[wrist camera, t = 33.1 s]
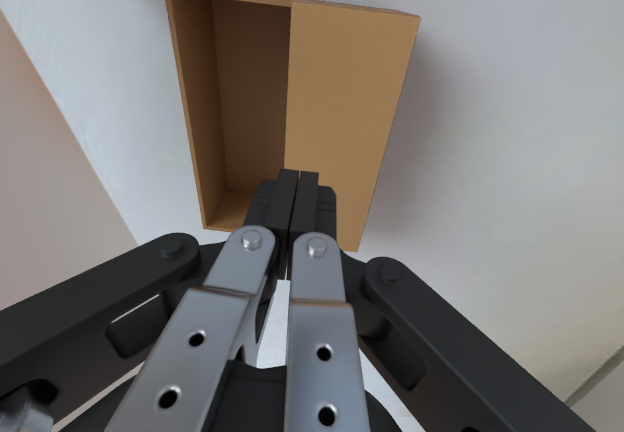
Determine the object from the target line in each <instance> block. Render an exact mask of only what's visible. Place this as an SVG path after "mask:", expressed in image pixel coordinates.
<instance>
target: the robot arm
mask: <svg viewBox="0 0 624 432" xmlns="http://www.w3.org/2000/svg"><path fill="white" fill-rule="evenodd" d="M318 180H319V173H318V172H310V171H301V172H300V178H299V170H292V169H284V168H281V169H280V172H279V176H278V179H277V180H269V179H266V180H264V181H263V182H262V183H261V184H259V185H258V187H257V189H256V192H255V195H254V197H253V199H252V203H251V205H250V207H249V210H248V212H247V215H246V217H245V220H244V222H243V225H242V227H240V228H238V229H236V230H234V231H233V232H232V233H231V234H230V236H229V237H228V239H227V241H224V242H220V243H215V244H206V245H199V243H198V241H197V240H196V238H195V237H193V236H191V235H189V234H186V233H170V234H166V235H163V236H161V237H158V238H156V239H154V240H152V241H150V242H148V243H145V244H143V245H141V246H139V247H137V248H135V249H133V250H130V251H128V252H126V253H124V254H122V255H120V256H118V257H115V258H113V259H111V260H109V261H107V262H105V263H103V264H100V265H98V266H96V267H94V268H92V269H89V270H87V271H85V272H83V273H81V274H79V275H76V276H74V277H72V278H70V279H68V280H66V281H64V282H61V283H59V284H57V285H55V286H53V287H51V288H49V289H46V290H44V291H42V292H40V293H38V294H36V295H33V296H31V297H29V298H27V299H25V300H23V301H21V302H18V303H16V304H14V305H12V306H10V307H7V308H5V309H3V310H1V311H0V432H51V429H52V426H53V425H55V424H56V423H57V422H59V421H60V420H62V419H63V418H65V417H66V416H67V415H69V414H70V413H72V412H73V411H74V410H76V409H77V408H79V407H80V406H81V405H83V404H84V403H86V402H87V401H89V400H90V399H91V398H93V397H94V396H96V395H97V394H98V393H100V392H101V391H103V390H104V389H105V388H107V387H108V386H110V385H111V384H112V383H114V382H115V381H117V380H118V379H120V378H121V377H122V376H124V375H125V374H126V373H128V372H129V371H130V370H132V369H134V368H135V367H136V366H138V365H139V364H141V363H142V362H143V361H145V362H144V364H143V366H142V367H141V369H140V371H139V372H138V374H137V375H135V376H133V377H132V378H130V379H128V380H127V381H125V382H123V383H122V384H121V385H119V386H118V387H116V388H115V389H114V390H113V391H111V392H110V393H109V394H107V395H106V396H105V397H103V398H102V399H101V400H99V401H98V402H97V403H95V404H94V405H93V406H91V407H90V408H89V409H87V410H86V411H85V412H83V413H82V414H81V415H80V416H78V417H77V418H76V419H74V420H73V421H72V422H70V423H69V424H68V425H66V426H65V427H64V428H62V429H61V430H60V431H58V432H402V431H401V429H400V428H399V426H398V425H397V424H396V422H395V420H394V419H393V418H392V416H391V415H390V414H389V412H388V411H387V410H386V409H385V408H384V406H383V405H382V404H381V403H380V402H379V401H378V400H377V399H376V398H375V397H374V396H372V395H371V394H370V393H369V392H367V391H366V390H365V389H364V383H363V375H362V368H361V361H360V354H359V348H360V350H361V351H362V352H363V353H364V355H365V356H366V357H367V358H368V360H369V361H370V362H371V363H372V365H373V366H374V367H375V368H376V370H377V371H378V372H379V373H380V375H381V376H382V377H383V378H384V380H385V381H386V382H387V384H388V385H389V386H390V387H391V389H392V390H393V391H394V392H395V394H396V395H397V396H398V397H399V399H400V400H401V401H402V402H403V404H404V405H405V406H406V407H407V409H408V410H409V411H410V412H411V414H412V415H413V416H414V418H415V419H416V420H417V421H418V422H419V424H420V425H421V426H422V427H423V429H424V430H425V431H426V432H596V431H595V430H594V429H593V428H592V427H590V426H589V425H588V424H587V423H586V422H585V421H584V420H582V419H581V418H580V417H579V416H578V415H577V414H576V413H574V412H573V411H572V410H571V409H570V408H569V407H567V406H566V405H565V404H564V403H563V402H562V401H561V400H559V399H558V398H557V397H556V396H555V395H554V394H553V393H551V392H550V391H549V390H548V389H547V388H546V387H544V386H543V385H542V384H541V383H540V382H539V381H538V380H536V379H535V378H534V377H533V376H532V375H531V374H530V373H528V372H527V371H526V370H525V369H524V368H523V367H521V366H520V365H519V364H518V363H517V362H516V361H515V360H513V359H512V358H511V357H510V356H509V355H508V354H507V353H505V352H504V351H503V350H502V349H501V348H500V347H498V346H497V345H496V344H495V343H494V342H493V341H492V340H490V339H489V338H488V337H487V336H486V335H485V334H484V333H482V332H481V331H480V330H479V329H478V328H477V327H475V326H474V325H473V324H472V323H471V322H470V321H469V320H467V319H466V318H465V317H464V316H463V315H462V314H461V313H459V312H458V311H457V310H456V309H455V308H454V307H452V306H451V305H450V304H449V303H448V302H447V301H446V300H444V299H443V298H442V297H441V296H440V295H439V294H438V293H436V292H435V291H434V290H433V289H432V288H431V287H429V286H428V285H427V284H426V283H425V282H424V281H423V280H421V279H420V278H419V277H418V276H417V275H416V274H415V273H413V272H412V271H411V270H410V269H409V268H408V267H406V266H405V265H404V264H403V263H401V262H399V261H398V260H395V259H393V258H389V257H376V258H373V259H371V260H369V261H368V262H367V263H364V262H361V261H359V260H356V259H354V258H352V257H350V256H348V255H347V254H345V253H344V252H343V251H342V250H341V249H340V247H339V245H338V243H337V212H336V211H337V205H336V204H337V201H336V193H335V192H334V190H333V189H332V187H330V186H321V185H318ZM287 262H288V263H287ZM286 268H287V278H286V280H289V281H291V282H290V294H289V309H288V326H287V342H286V359H285V365H284V366H278V367H272V368H265V369H259V368H256V363H257V356H258V351H259V347H260V344H261V340H262V337H263V333H264V330H265V327H266V323H267V320H268V316H269V313H270V309H271V306H272V302H273V298H274V293H275V290H276V285H277V280H278V279H279V280H284V279H285V274H286ZM157 294H159V296H158V297H156V298H154V299H152V300H151V301H149V302H147V303H146V304H144V305H142V306H141V307H139V308H137V309H135V310H134V311H132V312H130V313H129V314H127V315H125V316H124V317H122V318H120V319H119V320H117V321H115V322H113V323H111V322H112V321H113V320H115V319H116V318H117V317H119V316H121V315H123V314H125V313H126V312H128V311H130V310H131V309H133V308H135V307H137V306H138V305H140V304H142V303H144V302H145V301H147V300H148V299H150V298H152V297H154V296H155V295H157Z"/></svg>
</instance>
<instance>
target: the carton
mask: <svg viewBox="0 0 624 432" xmlns="http://www.w3.org/2000/svg"><path fill="white" fill-rule="evenodd" d="M292 2H300V3H308V4H316V5H323V6H331V7H339V8H347V9H355V10H363V11H371V12H379V13H387V14H395V15H403V16H411V17H419V16H417V15H413V14H409V13H405V12H401V11H397V10H389V9H381V8H373V7H365V6H357V5H349V4H341V3H333V2H325V1H317V0H166V6H167V12H168V18H169V24H170V30H171V37H172V43H173V49H174V55H175V61H176V67H177V73H178V79H179V85H180V91H181V97H182V103H183V109H184V115H185V121H186V127H187V133H188V139H189V145H190V151H191V157H192V163H193V169H194V175H195V181H196V187H197V193H198V199H199V205H200V211H201V217H202V223H203V229H208V230H217V231H225V232H233V231H234V230H236V229H238V228H240V227H242V225H243V222H244V220H245V217H246V215H247V212H248V210H249V207H250V205H251V203H252V199H253V197H254V195H255V192H256V189H257V187H258V185H259V184H261V183H262V182H263V181H264V180H266V179H269V180H277V179H278V176H279V172H280V169H281V168H284V158H285V136H286V114H287V93H288V71H289V49H290V28H291V6H292Z"/></svg>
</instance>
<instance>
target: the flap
mask: <svg viewBox="0 0 624 432" xmlns="http://www.w3.org/2000/svg"><path fill="white" fill-rule="evenodd" d="M420 20H421V18H419V17H411V16H403V15H395V14H387V13H379V12H371V11H363V10H355V9H347V8H339V7H331V6H323V5H316V4H308V3H300V2H292V6H291V28H290V49H289V71H288V93H287V114H286V136H285V158H284V169H292V170H299V178H300V172H301V171H310V172H318V173H319V180H318V185H321V186H330V187H332V189H333V190H334V192H335V193H336V201H337V204H336V205H337V211H336V212H337V243H338V245H339V247H340V249H341V250H342V251H350V252H358V248H359V245H360V241H361V237H362V234H363V230H364V226H365V222H366V219H367V215H368V211H369V208H370V204H371V200H372V197H373V193H374V189H375V186H376V182H377V178H378V175H379V171H380V167H381V164H382V160H383V156H384V153H385V149H386V145H387V141H388V138H389V134H390V130H391V127H392V123H393V119H394V116H395V112H396V108H397V105H398V101H399V97H400V94H401V90H402V86H403V83H404V79H405V75H406V71H407V68H408V64H409V60H410V57H411V53H412V49H413V46H414V42H415V38H416V35H417V31H418V27H419V24H420Z"/></svg>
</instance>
